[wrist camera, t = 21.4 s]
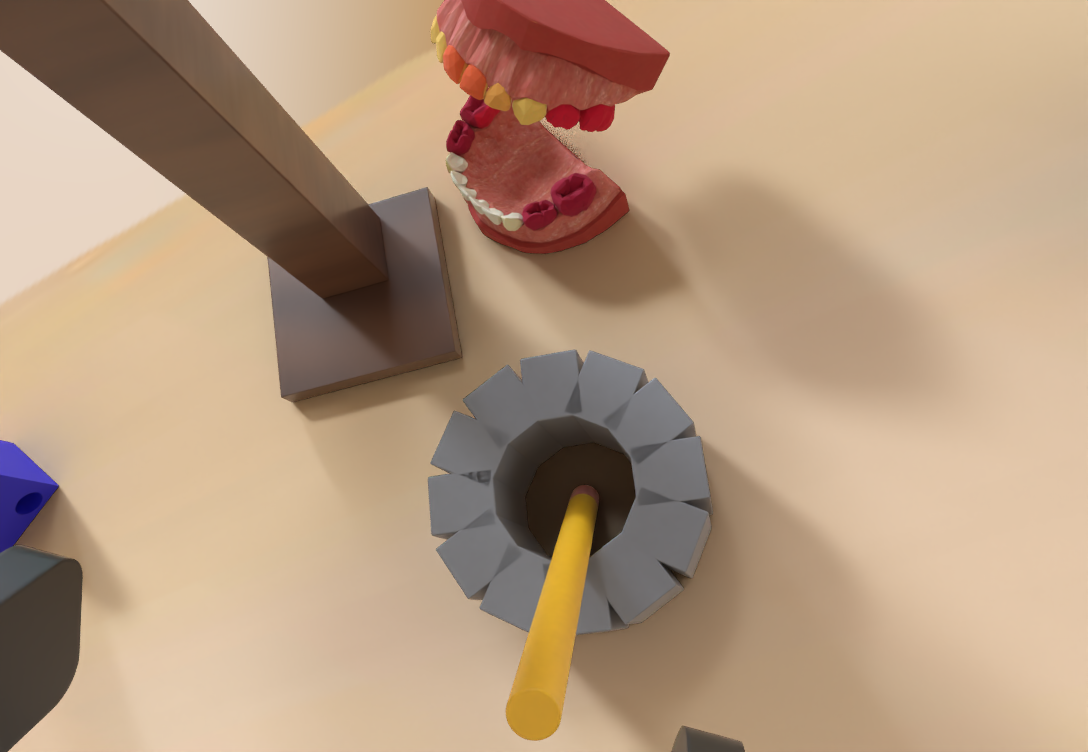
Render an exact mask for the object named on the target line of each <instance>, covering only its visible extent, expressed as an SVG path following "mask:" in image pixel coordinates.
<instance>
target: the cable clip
mask: <svg viewBox="0 0 1088 752" xmlns="http://www.w3.org/2000/svg"><path fill="white" fill-rule="evenodd" d="M58 487H59V485H58V484H57V483H56V482H54V481H53V480H52V479H51V478H50V477H49V476H48V475H47V474H46V473H45V472H44V471H43V470H42V469H41V468H39V467H38V466H37V465H36V464H35V463H34V462H33V461H32V460H31V459H30V458H29V457H28V456H27V455H26V454H24V453H23V452H22V451H21V450H20V449H19V448H18V447H17V446H16V445H15V444H14V443H10V442H6V441H2V440H0V553H1V552H3V551H4V550H6V549H8V548H10V547H12V546H13V545H14V544H15V543H16V541H17V540H18V539H19V537H20V536H21V535H22V533H23V532H24V531H25V529H26V528H27V527H28V526H29V524H30V523H31V522H32V520H33V519H34V518H35V516H36V515H37V514H38V513H39V511H40V510H41V509H42V507H43V506H44V505H45V503H46V502H47V501H48V500H49V498H50V497H51V496H52V494H53V493H54V492H55V490H56V489H57V488H58Z"/></svg>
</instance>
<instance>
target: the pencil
mask: <svg viewBox="0 0 1088 752" xmlns="http://www.w3.org/2000/svg"><path fill="white" fill-rule="evenodd" d="M598 505H599V495H598V492H597V491H596V490H595V489H594V488H593V487H591V486H588V485H581V486H578V487H577V488H575V489H574V490H573V492H572V494H571V497H570V500H569V504H568V507H567V510H566V513H565V517H564V520H563V523H562V527H561V530H560V533H559V536H558V540H557V543H556V546H555V549H554V553H553V556H552V559H551V562H550V566H549V569H548V572H547V575H546V579H545V582H544V585H543V588H542V592H541V595H540V598H539V602H538V605H537V608H536V611H535V615H534V618H533V621H532V624H531V628H530V631H529V634H528V637H527V641H526V644H525V647H524V650H523V654H522V657H521V660H520V664H519V667H518V670H517V673H516V677H515V680H514V683H513V686H512V690H511V693H510V696H509V699H508V703H507V706H506V718H507V721H508V724H509V726H510V727H511V729H512V730H513V731H514V732H515V733H516V734H517V735H519V736H520V737H522V738H524V739H527V740H535V741H536V740H542V739H545V738H547V737H549V736H551V735H552V734H553V733H554V732H555V731H556V730H557V728H558V727H559V724H560V721H561V716H562V710H563V704H564V699H565V693H566V687H567V682H568V676H569V670H570V665H571V659H572V653H573V647H574V642H575V636H576V630H577V625H578V619H579V613H580V608H581V602H582V596H583V590H584V585H585V579H586V573H587V568H588V562H589V556H590V551H591V545H592V539H593V534H594V528H595V522H596V516H597V511H598Z"/></svg>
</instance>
